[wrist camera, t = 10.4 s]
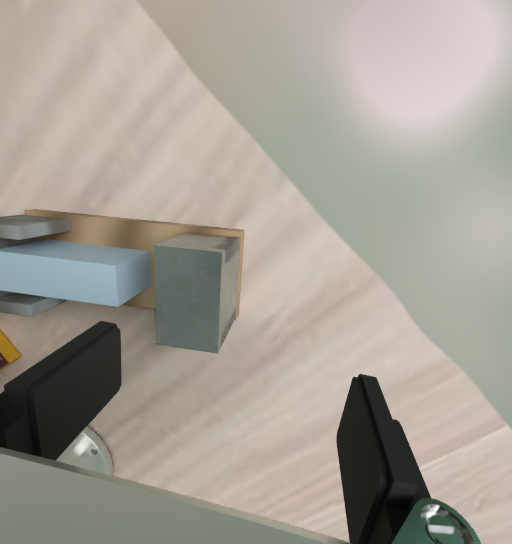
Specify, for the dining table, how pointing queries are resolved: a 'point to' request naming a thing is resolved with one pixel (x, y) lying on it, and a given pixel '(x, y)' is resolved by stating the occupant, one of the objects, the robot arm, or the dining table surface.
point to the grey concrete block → (195, 290)
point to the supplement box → (7, 352)
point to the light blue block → (75, 271)
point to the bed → (93, 232)
